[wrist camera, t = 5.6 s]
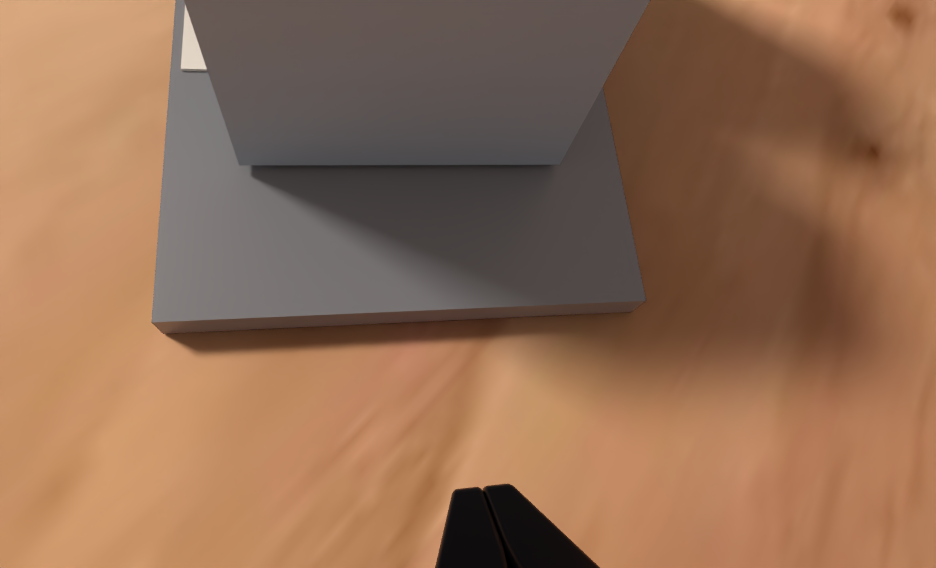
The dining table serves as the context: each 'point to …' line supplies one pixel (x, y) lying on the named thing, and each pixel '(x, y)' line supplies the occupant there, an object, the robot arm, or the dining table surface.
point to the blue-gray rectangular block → (408, 77)
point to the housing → (379, 230)
